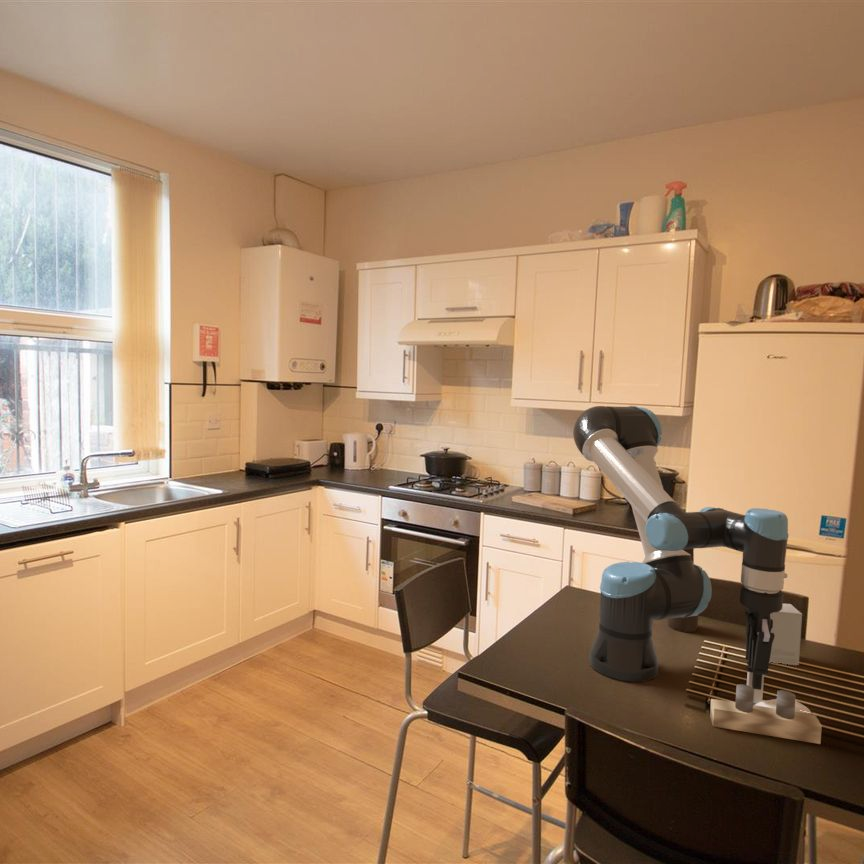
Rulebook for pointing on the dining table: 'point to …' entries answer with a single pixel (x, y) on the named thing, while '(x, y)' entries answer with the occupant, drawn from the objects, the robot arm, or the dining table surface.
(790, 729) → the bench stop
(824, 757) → the dining table surface
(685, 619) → the beer bottle
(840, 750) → the dining table surface
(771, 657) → the supplement box
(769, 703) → the soap bar
